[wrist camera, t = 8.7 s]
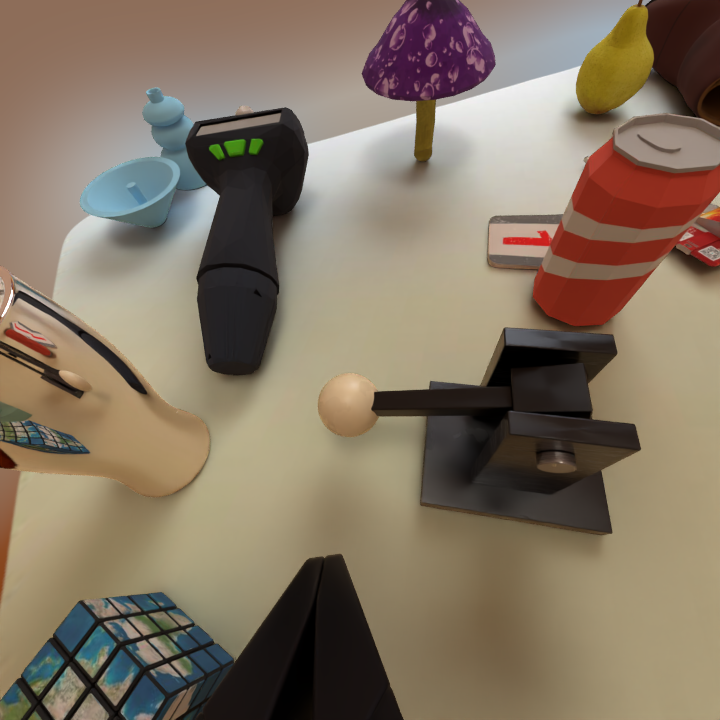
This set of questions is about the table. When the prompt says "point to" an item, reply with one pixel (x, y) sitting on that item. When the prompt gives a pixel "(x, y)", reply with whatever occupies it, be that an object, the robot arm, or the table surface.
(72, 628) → the puzzle
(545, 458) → the bracket
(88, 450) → the beer glass
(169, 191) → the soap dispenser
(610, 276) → the beverage can
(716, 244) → the card
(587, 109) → the fruit
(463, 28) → the decorative mushroom
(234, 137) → the handheld device
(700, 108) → the dress shoe
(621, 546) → the table surface
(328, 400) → the lever
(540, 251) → the printed sign plate
